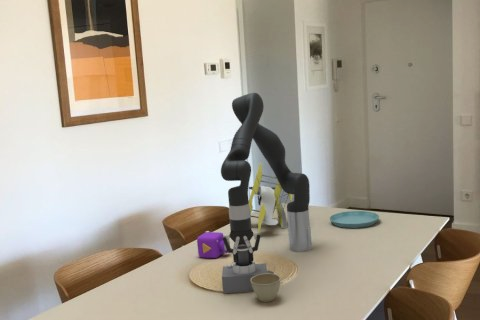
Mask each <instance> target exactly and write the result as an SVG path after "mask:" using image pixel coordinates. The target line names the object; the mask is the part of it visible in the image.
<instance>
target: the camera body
mask: <svg viewBox="0 0 480 320" xmlns="http://www.w3.org/2000/svg"><path fill="white" fill-rule="evenodd" d="M267 271H268V268H267V263H266V262H265V263H264V262H263V263H256V261H255V260H253V261H252V263H250V265H249V266H238V264H236V263H234V261H233V262H232V263H228V264H226V266H225V265H224V266H222V271H221V282H222V283H221V285H222V294H237V293H248V292H249V293H250V292H254V290H253V288H252V285H251V281H250V280H251V278H252V277H254V276H256V275H259V274H265V273H267Z"/></svg>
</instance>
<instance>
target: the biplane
mask: <svg viewBox="0 0 480 320" xmlns="http://www.w3.org/2000/svg"><path fill="white" fill-rule="evenodd" d="M262 169H263V167H262V162H261V161H260V162H259V165H258V168H257V172H256V175H255V178H254V181H253V186H248V190H250V191H251V192H250V195H249V197H248V200H249V207H250V214H251V215H250V216H251V218H255V219H258V220H257V225H258V226H257V227H258V231H257V233H261V228H262V224H263V223H266V224H265V225H267V226H276V225H278V223H279V225H280V228H281V229H288V221H287V213H286V212H285V211H286V210H285V208H286V205H287V200H288V199H289V200H290V202H293V201H294V194H288V193H286V192H284V190H283V189H282V188H281V186H280V184H279V182H278V181H277V182H274V181H273V180H272V181H270V179H275V180H278V179H277V177H276V176H272V175H266V174H263V172H262V171H263V170H262ZM266 177H267V180H269V181H266V180H263V179H264V178H266ZM262 178H263V179H262ZM261 182H262V183H267V184H270V185H275V187H271V186H267V185H261ZM282 190H283V191H282ZM281 192H282V193H281ZM281 194H282V195H281ZM255 195H257V200H258V201H257V204H258V206H260V207H259V210H257V209H253V208H254V207H253V199H254V196H255ZM284 196H285V197H286V200H285V198H283V197H284ZM282 198H283V200H282ZM281 200H282V201H281ZM284 200H285V203H284V204H283V201H284ZM283 205H284V206H283ZM275 210H276V213H277V217H275V218H273V216H274V212H275ZM253 212H256V213H257V216H256V215H252V213H253ZM277 219H278V220H277ZM262 222H263V223H262Z"/></svg>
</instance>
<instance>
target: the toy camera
mask: <svg viewBox="0 0 480 320" xmlns="http://www.w3.org/2000/svg"><path fill="white" fill-rule="evenodd" d="M223 236H224V233H223V232H218V231H217V232H214V231H209V230H207V231H205V232H204V233H202V234H201V235H199V236H198V237H197V239H196V244H197V254H198V257H199V258H204V259H206V258H207V259H217V258H220V257H221V255H224V254H229V253H228V252H227V249H226V246H225V244H224V241H223ZM230 243H231V242H230V241H229V245H230ZM230 246H231V245H230Z"/></svg>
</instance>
